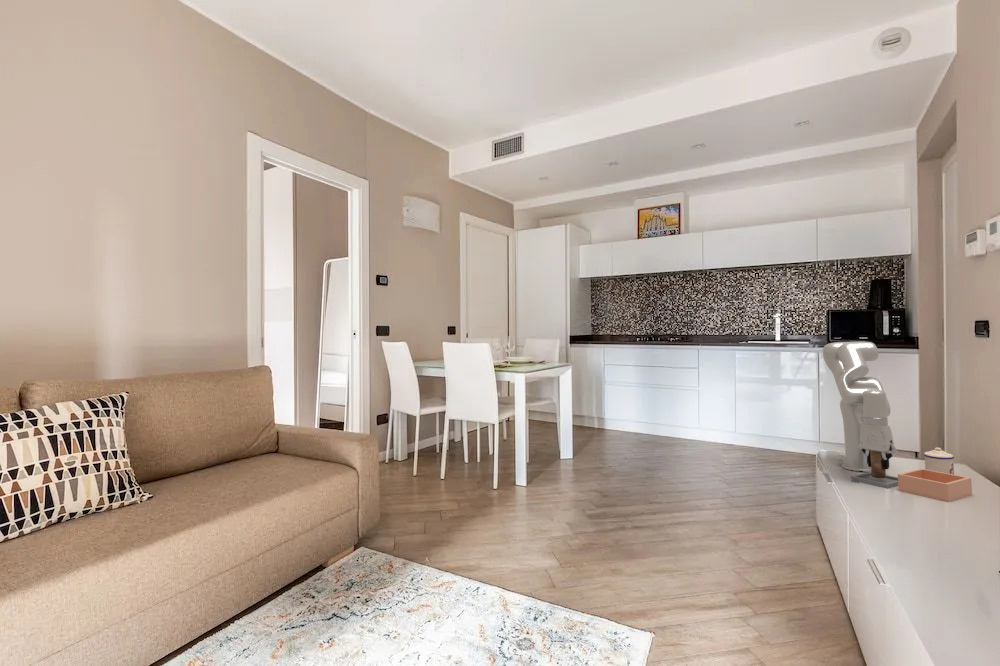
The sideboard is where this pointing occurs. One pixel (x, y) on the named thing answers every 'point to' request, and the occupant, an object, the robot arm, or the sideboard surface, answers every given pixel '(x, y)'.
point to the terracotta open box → (935, 484)
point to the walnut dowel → (877, 465)
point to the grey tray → (876, 480)
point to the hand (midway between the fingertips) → (878, 467)
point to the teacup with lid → (939, 461)
